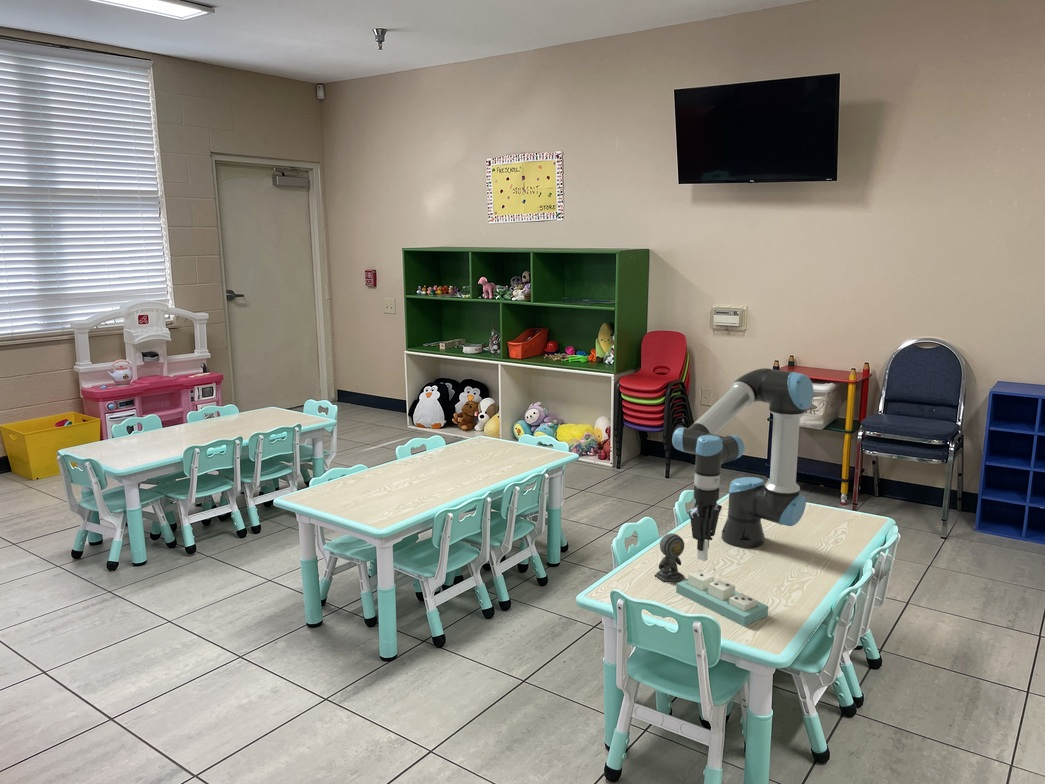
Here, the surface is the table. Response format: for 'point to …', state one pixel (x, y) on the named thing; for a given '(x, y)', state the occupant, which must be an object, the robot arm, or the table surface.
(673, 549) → the figurine
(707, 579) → the tile
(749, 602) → the tile
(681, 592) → the board
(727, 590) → the tile
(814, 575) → the table surface
